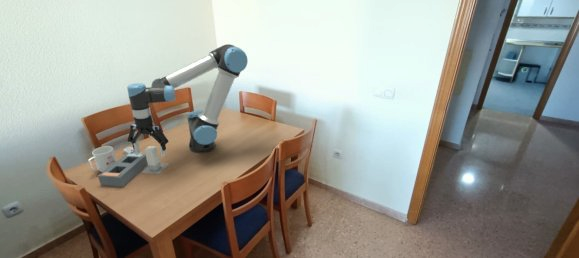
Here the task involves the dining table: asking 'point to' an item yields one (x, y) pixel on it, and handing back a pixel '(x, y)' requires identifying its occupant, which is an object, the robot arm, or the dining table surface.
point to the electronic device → (130, 150)
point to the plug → (152, 158)
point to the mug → (103, 158)
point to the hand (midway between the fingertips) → (151, 154)
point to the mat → (155, 170)
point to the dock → (123, 170)
